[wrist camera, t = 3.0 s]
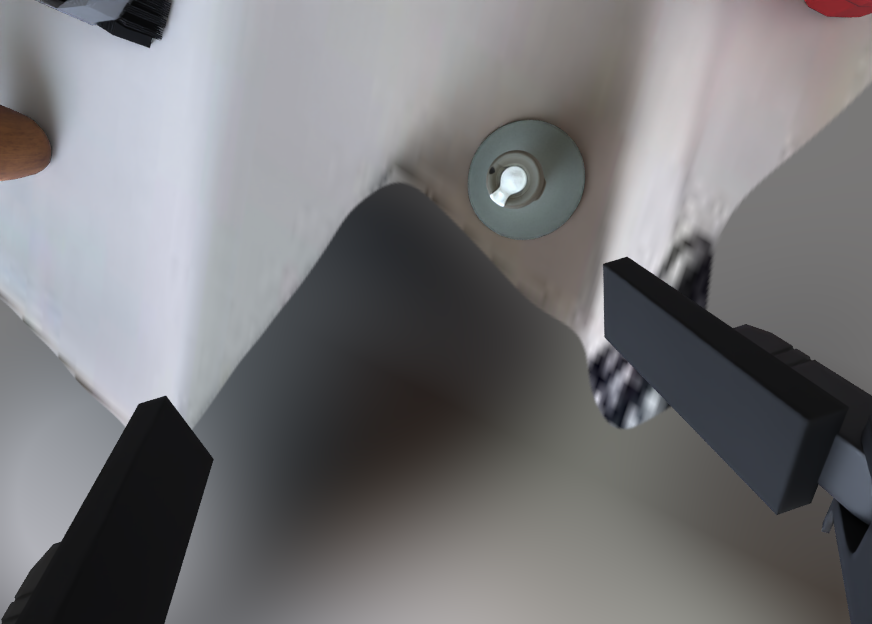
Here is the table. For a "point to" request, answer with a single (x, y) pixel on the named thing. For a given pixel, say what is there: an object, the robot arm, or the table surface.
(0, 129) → the wooden figurine
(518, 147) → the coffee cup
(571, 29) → the table surface
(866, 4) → the plastic cup
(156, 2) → the cpu cooler
